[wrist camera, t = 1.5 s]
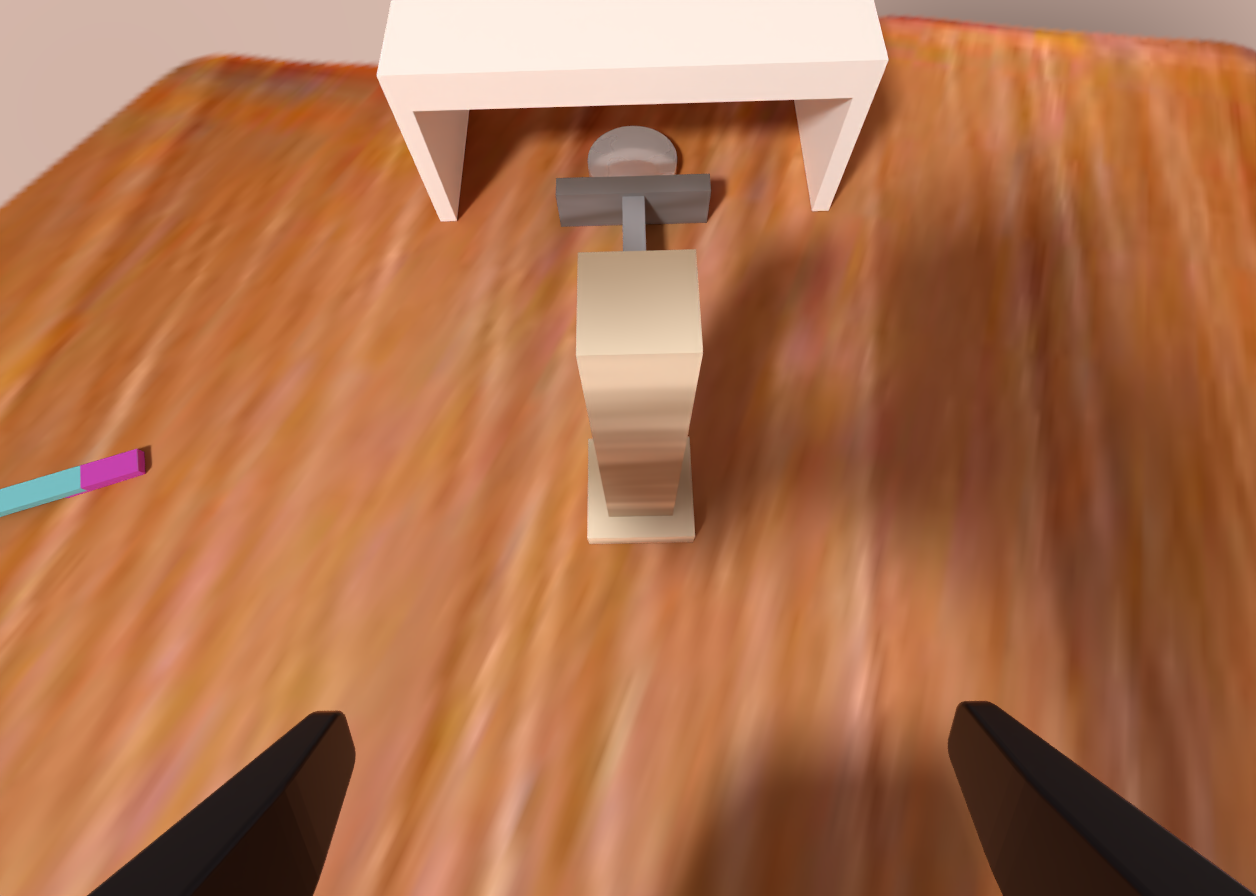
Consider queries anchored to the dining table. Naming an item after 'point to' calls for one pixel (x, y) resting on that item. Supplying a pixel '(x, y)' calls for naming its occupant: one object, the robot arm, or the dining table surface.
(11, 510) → the squeegee
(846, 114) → the white footstool bench
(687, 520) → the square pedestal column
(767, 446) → the dining table surface
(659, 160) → the steel token
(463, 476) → the dining table surface
